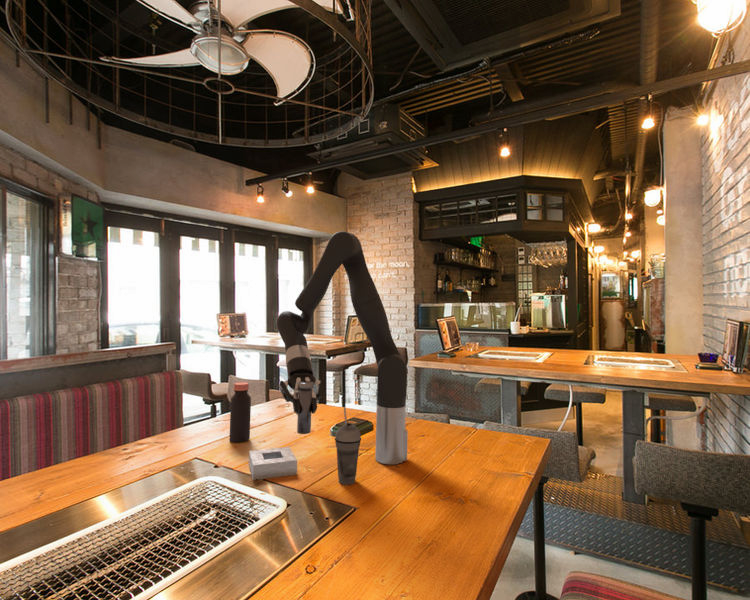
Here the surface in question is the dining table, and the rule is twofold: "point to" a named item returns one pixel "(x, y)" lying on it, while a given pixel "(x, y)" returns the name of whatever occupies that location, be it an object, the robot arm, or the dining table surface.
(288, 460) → the block
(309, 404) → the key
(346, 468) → the beverage cup
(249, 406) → the bottle
